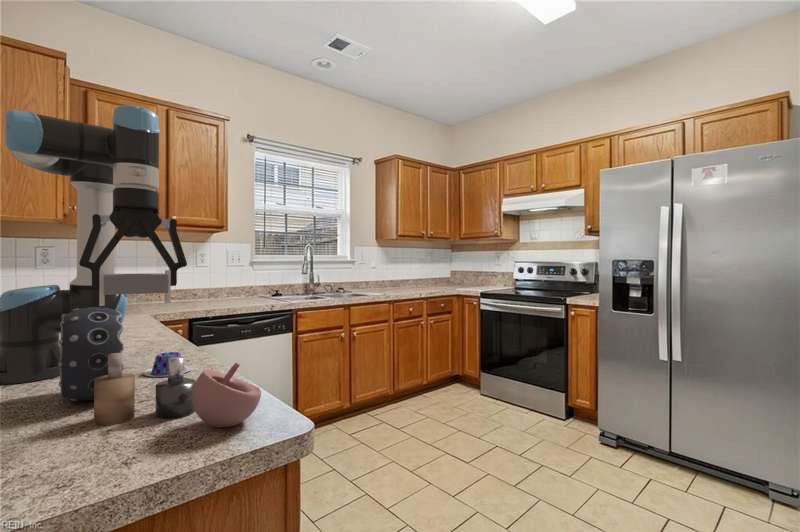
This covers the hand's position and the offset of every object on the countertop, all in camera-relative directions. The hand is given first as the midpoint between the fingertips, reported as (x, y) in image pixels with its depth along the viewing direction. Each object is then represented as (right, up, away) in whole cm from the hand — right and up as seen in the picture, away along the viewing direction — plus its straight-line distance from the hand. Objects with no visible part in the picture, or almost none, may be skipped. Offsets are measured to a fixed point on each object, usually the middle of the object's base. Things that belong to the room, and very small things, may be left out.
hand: (136, 303), depth 79 cm
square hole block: (0, +2, 0) cm, 2 cm away
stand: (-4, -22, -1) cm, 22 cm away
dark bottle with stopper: (+6, -22, +3) cm, 23 cm away
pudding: (-12, -22, +33) cm, 41 cm away
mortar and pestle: (+19, -23, -3) cm, 30 cm away
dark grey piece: (-17, -22, +11) cm, 30 cm away
